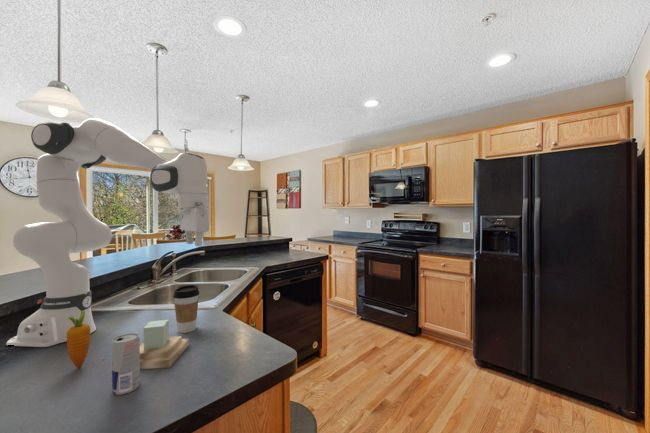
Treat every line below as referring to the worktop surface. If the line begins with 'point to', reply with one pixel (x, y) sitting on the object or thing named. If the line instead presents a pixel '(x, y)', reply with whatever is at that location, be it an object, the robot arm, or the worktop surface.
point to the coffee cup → (186, 307)
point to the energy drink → (125, 363)
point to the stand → (163, 353)
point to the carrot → (78, 340)
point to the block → (156, 334)
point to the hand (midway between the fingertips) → (194, 244)
